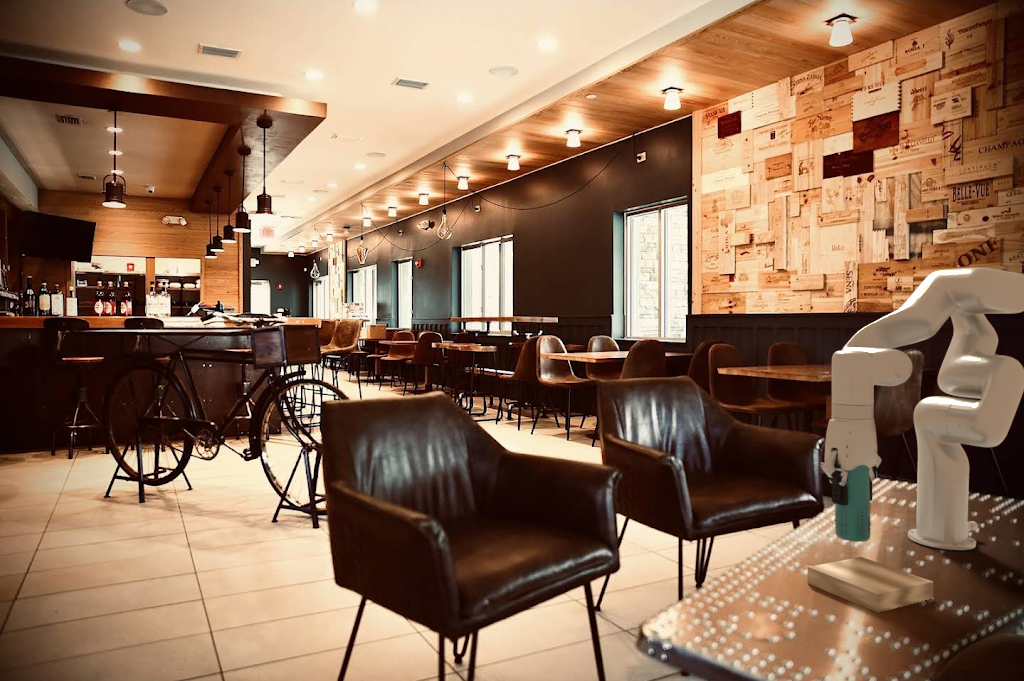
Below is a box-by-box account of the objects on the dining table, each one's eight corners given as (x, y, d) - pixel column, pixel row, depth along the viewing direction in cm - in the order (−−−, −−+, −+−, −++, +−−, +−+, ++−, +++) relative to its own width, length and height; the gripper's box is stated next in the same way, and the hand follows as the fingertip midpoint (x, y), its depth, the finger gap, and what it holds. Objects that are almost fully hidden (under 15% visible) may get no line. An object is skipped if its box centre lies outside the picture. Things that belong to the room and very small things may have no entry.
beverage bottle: (875, 550, 136) (875, 448, 135) (838, 548, 137) (838, 447, 136) (865, 539, 142) (865, 442, 141) (830, 538, 144) (830, 441, 143)
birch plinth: (860, 572, 132) (861, 556, 132) (932, 599, 119) (933, 581, 119) (807, 583, 126) (808, 566, 126) (877, 612, 113) (877, 594, 113)
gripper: (865, 407, 146) (865, 492, 146) (805, 413, 138) (805, 502, 139) (898, 411, 139) (898, 500, 140) (837, 418, 132) (837, 512, 132)
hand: (852, 500), depth 139 cm, fingers closed on beverage bottle, 6 cm apart
